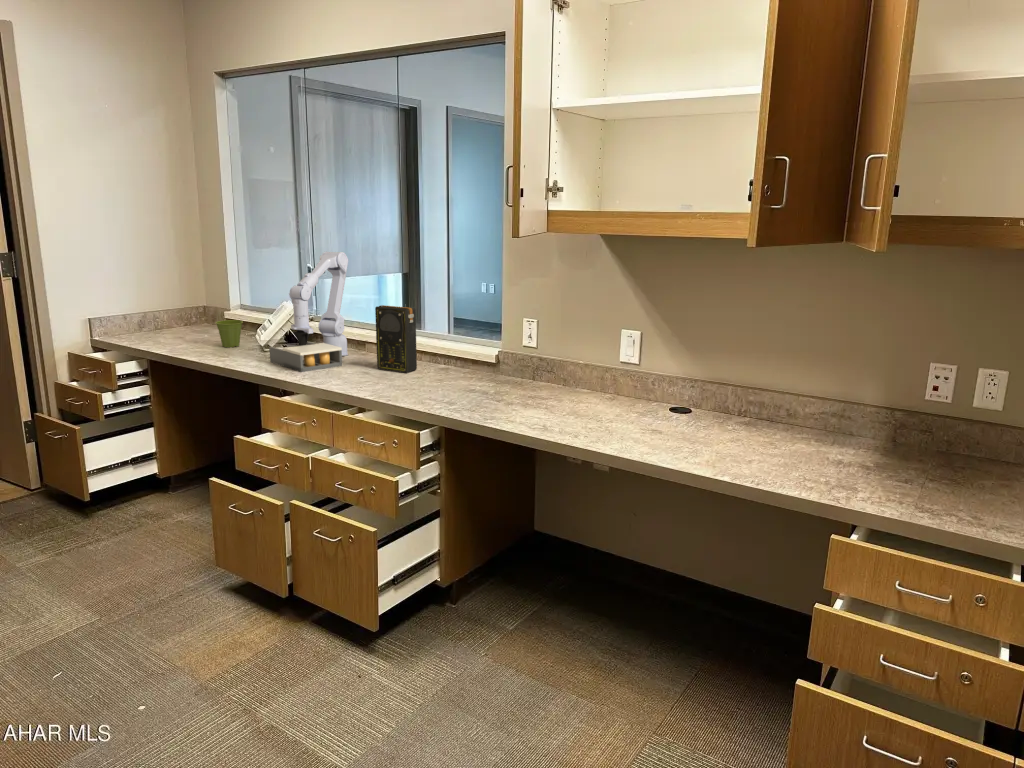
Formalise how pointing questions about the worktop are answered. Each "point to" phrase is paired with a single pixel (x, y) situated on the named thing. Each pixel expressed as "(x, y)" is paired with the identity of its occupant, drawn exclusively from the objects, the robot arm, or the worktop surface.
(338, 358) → the housing
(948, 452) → the worktop surface
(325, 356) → the peg
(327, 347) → the lid
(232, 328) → the plant pot
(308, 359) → the orange rounded cylinder
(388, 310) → the voltmeter
